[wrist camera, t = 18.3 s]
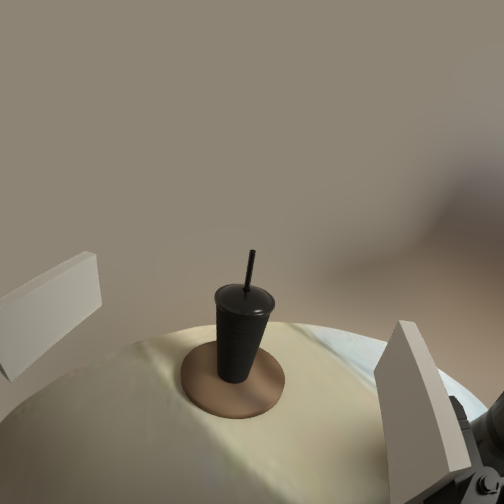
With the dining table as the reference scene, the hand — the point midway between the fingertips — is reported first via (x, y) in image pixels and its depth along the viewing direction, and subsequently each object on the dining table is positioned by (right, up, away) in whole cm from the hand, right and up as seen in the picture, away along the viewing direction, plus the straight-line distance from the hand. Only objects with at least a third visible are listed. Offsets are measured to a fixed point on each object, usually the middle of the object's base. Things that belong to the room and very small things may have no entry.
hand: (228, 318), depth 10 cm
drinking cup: (-2, -16, +28) cm, 33 cm away
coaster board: (-2, -17, +29) cm, 34 cm away
